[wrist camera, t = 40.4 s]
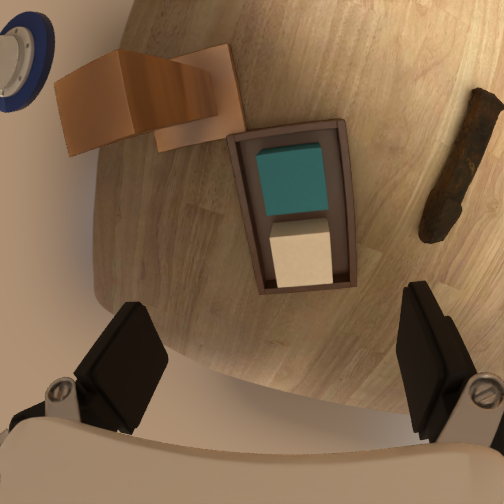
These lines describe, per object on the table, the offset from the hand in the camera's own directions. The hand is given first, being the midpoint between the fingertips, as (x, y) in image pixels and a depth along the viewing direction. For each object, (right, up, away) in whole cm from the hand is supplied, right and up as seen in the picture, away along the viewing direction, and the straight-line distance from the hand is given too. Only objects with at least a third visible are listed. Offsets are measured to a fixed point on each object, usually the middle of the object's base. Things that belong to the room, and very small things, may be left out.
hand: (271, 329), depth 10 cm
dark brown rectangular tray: (+4, +7, +23) cm, 25 cm away
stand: (-7, +19, +19) cm, 28 cm away
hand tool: (+22, +12, +18) cm, 31 cm away
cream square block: (+5, +4, +24) cm, 25 cm away
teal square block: (+4, +11, +21) cm, 24 cm away
